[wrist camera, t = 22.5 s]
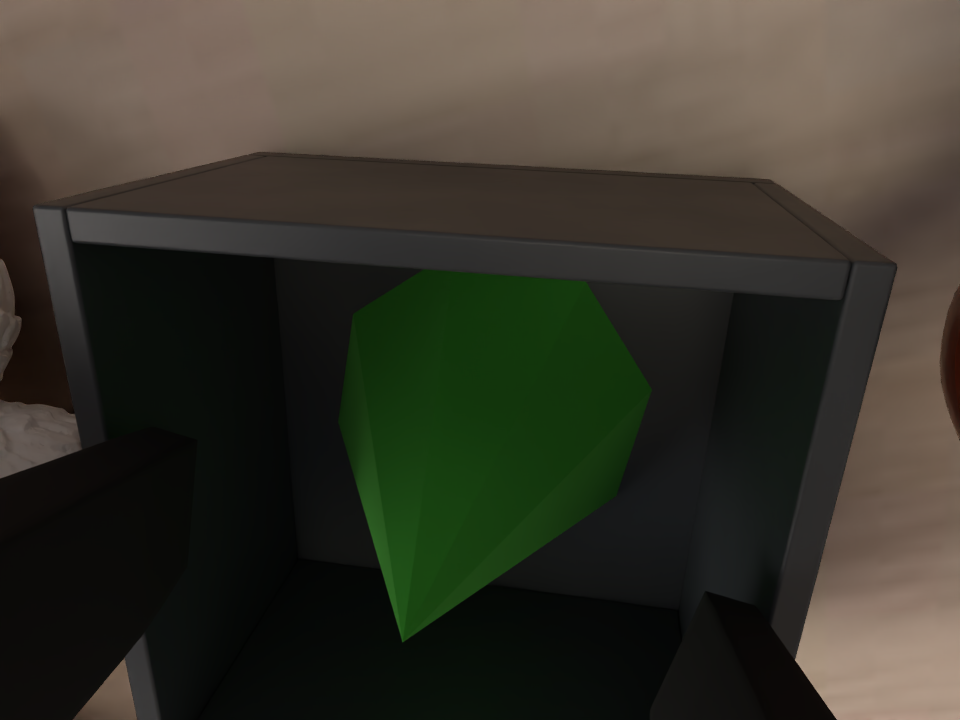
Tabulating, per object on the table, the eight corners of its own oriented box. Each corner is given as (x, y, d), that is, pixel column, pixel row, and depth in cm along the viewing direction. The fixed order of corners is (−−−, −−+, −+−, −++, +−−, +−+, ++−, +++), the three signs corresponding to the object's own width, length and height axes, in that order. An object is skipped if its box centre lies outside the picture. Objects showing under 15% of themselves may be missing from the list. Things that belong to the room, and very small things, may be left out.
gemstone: (668, 532, 14) (708, 840, 8) (374, 549, 15) (239, 825, 10) (632, 222, 12) (654, 357, 6) (296, 274, 13) (67, 425, 7)
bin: (291, 556, 16) (147, 777, 11) (257, 151, 13) (29, 204, 8) (693, 611, 15) (736, 887, 10) (773, 179, 12) (901, 264, 6)
